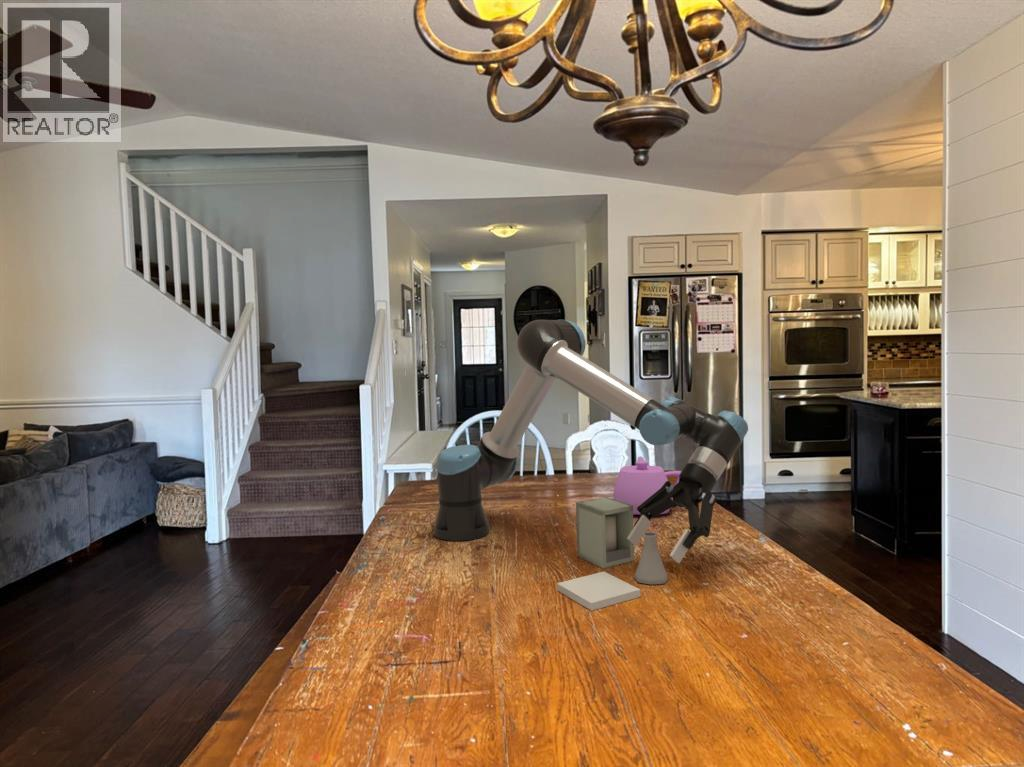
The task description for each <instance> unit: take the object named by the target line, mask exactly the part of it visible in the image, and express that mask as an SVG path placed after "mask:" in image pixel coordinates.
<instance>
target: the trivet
mask: <svg viewBox="0 0 1024 767" xmlns="http://www.w3.org/2000/svg"><path fill="white" fill-rule="evenodd" d="M556 588H557V589H556V590H557V592H559V593H561V594H562V595H564V596H566V597H568V598H569V599H571V600H573V601H575V602H576V603H578V604H579V605H581V606H583V607H584V608H586V609H587V610H589V611H596V610H599V609H602V608H606V607H609V606H613V605H617V604H620V603H623V602H627V601H630V600H634V599H637V598H640V597H641V589H640V588H639V587H636V586H634V585H632V584H631V583H628V582H626V581H624V580H622V579H620V578H618V577H616V576H613V575H612V574H610V573H608V572H606V571H600V572H596V573H593V574H588V575H585V576H584V575H583V576H580V577H576V578H574V579H569V580H564V581H560V582H557V583H556Z"/></svg>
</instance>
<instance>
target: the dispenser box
mask: <svg viewBox="0 0 1024 767" xmlns="http://www.w3.org/2000/svg"><path fill="white" fill-rule="evenodd" d="M575 512H576V513H575V514H576V520H575V521H576V544H577V545H576V547H577V548H576V550H577V557H579V558H581V559H583V560H584V561H587V562H590V563H591V564H592V565H593V564H594V565H595V566H597V567H600V568H602V569H605V568H610V567H614V566H617V565H621V564H626V563H629V562H634V561H635V545H633V544H632V543H631V542H630V541H629V540H628V539H627V537H628V536H629V534H630V533H631V531H632V530H633V528H634V515H633V505H630V504H627V503H623V502H620V501H617V500H614V499H613V498H610V497H607V496H605V497H599V498H595V499H588V500H583V501H576V502H575Z"/></svg>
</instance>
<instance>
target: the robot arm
mask: <svg viewBox="0 0 1024 767" xmlns="http://www.w3.org/2000/svg"><path fill="white" fill-rule="evenodd" d="M516 344H517V346H516V348H517V351H518V353H519V356H520V357H521V359H522V360H523V361H524V362H525V363H527V364H526V366H525V368H524V369H523V372H522V373H521V375H520V376H519V378H518V380H517V383H516V384H515V386H514V388H513V390H512V391H511V394H510V395H509V397H508V400H507V401H506V403H505V405H504V407H503V408H502V410H501V412H500V414H499V416H498V418H497V420H496V421H495V423H494V425H493V427H492V429H491V431H486V432H484V433H483V434H482V436H481V438H480V440H479V442H478V444H477V445H475V444H458V445H457V446H456V445H454V446H451V447H447V448H444V449H442V450H441V451H440V452H439V453H438V455H437V465H436V471H437V486H438V510H437V514H436V518H435V520H434V525H433V536H434V537H435V538H437V539H438V540H442V541H450V542H452V541H453V542H459V541H460V542H462V541H463V542H464V541H473V540H476V539H481V538H482V537H485V536H487V535H488V534H489V533H490V523H489V520H488V517H487V515H486V512H485V508H484V506H483V502H482V497H483V496H482V490H483V489H486V488H488V487H491V486H495V485H500V484H502V483H504V482H506V481H507V480H509V479H511V477H512V476H514V474H515V473H516V471H517V469H518V464H519V460H518V458H519V457H518V456H519V453H520V450H519V447H518V446H519V444H520V443H521V440H522V438H523V436H524V434H525V433H526V431H527V430H528V428H529V426H530V424H531V422H532V421H533V419H534V416H536V414H537V412H538V410H539V409H540V406H542V403H543V401H544V399H545V397H546V396H547V394H548V393H549V390H550V388H551V387H552V385H553V383H554V382H555V381H556V380H560V381H561V382H563V383H565V384H566V385H568V386H569V387H570V388H573V389H574V390H575V391H577V392H579V393H581V394H582V395H583V396H585V397H587V398H588V399H590V401H591V400H592V401H593V402H595V403H596V404H598V405H599V406H601V407H602V408H604V409H606V410H607V411H609V412H610V413H611V414H613V415H615V416H617V417H618V418H619V419H621V420H622V421H624V422H626V423H627V424H629V425H630V426H632V427H634V428H635V429H637V430H638V431H639V433H640V435H641V437H642V439H643V441H645V442H646V443H648V444H649V445H651V446H664V445H668V444H672V443H673V442H675V441H677V440H680V439H682V438H685V439H688V441H689V440H690V441H691V442H693V443H695V444H697V447H696V449H695V450H694V451H693V453H692V454H691V456H690V457H689V459H688V463H686V464H685V465H684V467H683V468H682V470H680V471H681V473H680V475H679V482H678V483H677V484H676V485H675V484H672V483H671V482H670V481H669V480H668V481H666V482H665V484H664V485H663V486H662V487H661V488H660V489H659V490H658V491H657V492H655V493H654V494H653V495H652V496H651V497H649V498H648V499H647V500H646V501H644V502H643V503H642V504H641V505H640V506H638V507H637V510H638V511H639V513H640V515H639V517H637V520H636V521H635V523H633V530H632V531H631V533H630V534H629V536H628V537H627V539H628V540H629V541H630V542H631V543H632V544H633V545H634V547H636V546H638V543H639V542H640V541H641V539H642V538H643V533H644V532H647V530H648V528H649V526H650V525H651V524H652V519H654V518H655V517H658V516H657V515H659V514H660V515H662V514H661V513H663V512H664V511H666V510H668V509H671V508H676V507H678V508H684V509H686V510H687V512H688V513H687V515H688V524H689V527H687V529H686V528H685V530H684V532H682V535H681V536H680V538H679V539H678V541H677V543H676V544H675V545H674V548H672V550H671V552H670V554H669V556H670V558H672V559H673V560H674V561H675V562H676V563H677V564H680V563H681V562H682V560H683V559H684V557H685V555H686V553H687V552H688V550H690V549H692V547H693V545H694V544H695V542H697V539H698V538H701V537H705V538H708V537H709V536H710V533H711V528H712V527H711V526H712V519H713V510H714V506H715V504H716V502H717V500H718V499H717V497H715V495H714V494H713V493H712V491H713V489H714V487H715V486H716V484H717V481H718V480H719V479H720V477H721V476H722V474H723V472H724V471H725V469H726V468H727V467H728V465H729V463H730V461H731V460H732V458H733V457H734V455H735V454H736V452H737V450H738V449H739V447H741V445H742V442H743V441H744V439H745V437H746V435H747V433H748V431H749V425H748V423H747V421H746V420H745V419H744V417H742V416H741V415H740V414H737V413H736V412H733V411H728V410H722V411H720V412H719V413H718V414H717V415H714V414H712V413H709V412H707V411H705V410H702V409H701V408H698V407H697V406H695V405H692V404H691V403H688V402H686V401H685V400H683V399H679V398H676V397H674V396H668V397H666V399H665V400H663V402H661V403H660V402H658V401H657V400H654V398H652V397H650V396H649V395H647V394H645V393H643V392H642V391H640V390H639V389H637V388H635V387H634V386H632V385H631V384H629V383H627V382H626V381H624V380H622V379H621V378H618V377H617V376H616V375H614V374H613V373H611V372H609V371H607V370H606V369H604V368H602V367H600V366H599V365H598V364H596V363H594V362H593V361H592V360H591V361H590V360H589V359H588V358H586V357H584V356H583V355H584V353H585V351H586V338H585V335H584V332H583V330H582V329H581V327H580V326H579V325H578V324H577V323H575V322H573V321H571V320H565V319H535V320H532V321H530V322H528V323H527V324H525V325H524V326H523V327H522V328H521V330H520V332H519V334H518V336H517V342H516ZM671 498H673V500H672V499H671ZM700 503H701V505H699V504H700ZM700 506H701V507H700ZM699 512H700V513H699ZM648 513H650V514H648ZM660 515H659V516H660Z"/></svg>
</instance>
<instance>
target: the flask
mask: <svg viewBox="0 0 1024 767" xmlns="http://www.w3.org/2000/svg"><path fill="white" fill-rule="evenodd" d="M657 537H659V534H658V533H657V532H656V531H645V532H644V533H643V536H642V538H643V547H642V553H641V556H640V559H639V562H638V565H637V567H636V570H635V573H634V576H633V578H634V579H635V581H636V582H637V583H641V584H646V585H662V584H666V582H668V580H669V576H668V574H667V573H668V572H667V571H666V568H665V566H664V564H663V560H662V557H661V555H660V552H659V549H658V543H657V542H658V541H657Z"/></svg>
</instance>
